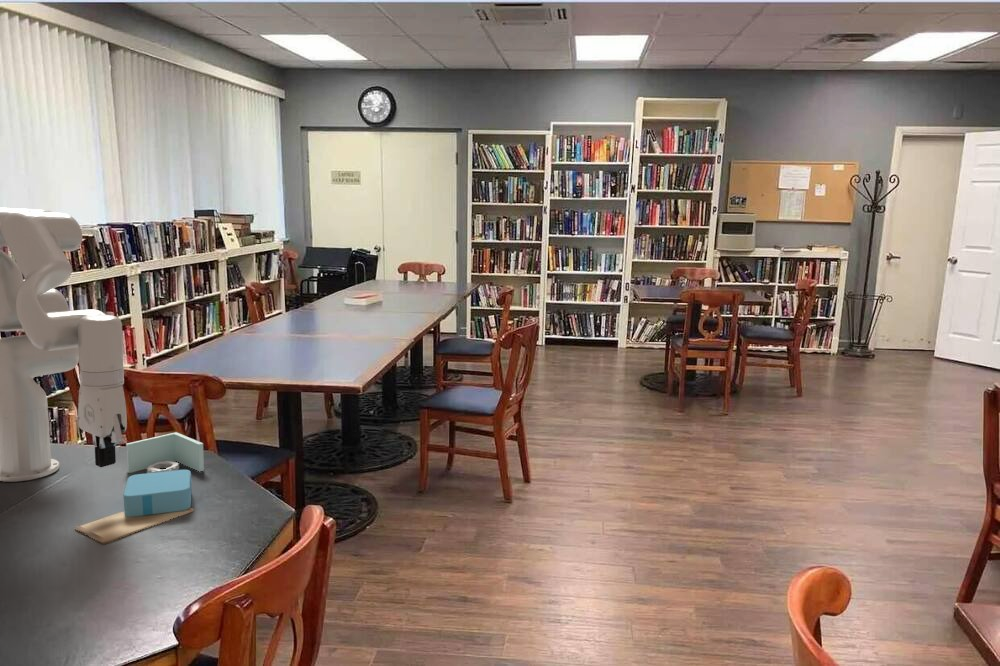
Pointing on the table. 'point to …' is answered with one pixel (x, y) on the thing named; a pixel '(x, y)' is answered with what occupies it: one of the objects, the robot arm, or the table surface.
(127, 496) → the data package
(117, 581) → the table surface
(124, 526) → the wooden board
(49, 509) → the table surface
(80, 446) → the table surface
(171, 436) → the mint corner bracket
